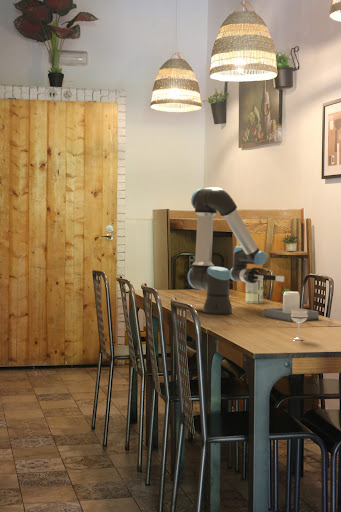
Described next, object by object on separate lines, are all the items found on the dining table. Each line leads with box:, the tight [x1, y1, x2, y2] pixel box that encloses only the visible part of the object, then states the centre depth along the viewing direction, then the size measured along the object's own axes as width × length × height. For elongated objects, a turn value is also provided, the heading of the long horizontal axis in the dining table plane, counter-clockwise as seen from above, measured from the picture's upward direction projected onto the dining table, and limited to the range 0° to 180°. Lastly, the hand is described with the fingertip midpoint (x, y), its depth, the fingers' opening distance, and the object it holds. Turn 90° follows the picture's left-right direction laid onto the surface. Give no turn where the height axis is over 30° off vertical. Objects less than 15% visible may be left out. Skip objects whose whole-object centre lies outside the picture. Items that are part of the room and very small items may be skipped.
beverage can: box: [282, 290, 301, 313], centre depth 354 cm, size 8×8×12 cm
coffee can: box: [244, 280, 264, 304], centre depth 422 cm, size 10×10×14 cm
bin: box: [263, 307, 319, 323], centre depth 354 cm, size 19×19×4 cm
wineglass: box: [291, 308, 309, 339], centre depth 287 cm, size 7×7×12 cm
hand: (273, 278), depth 367 cm, fingers open, 13 cm apart
